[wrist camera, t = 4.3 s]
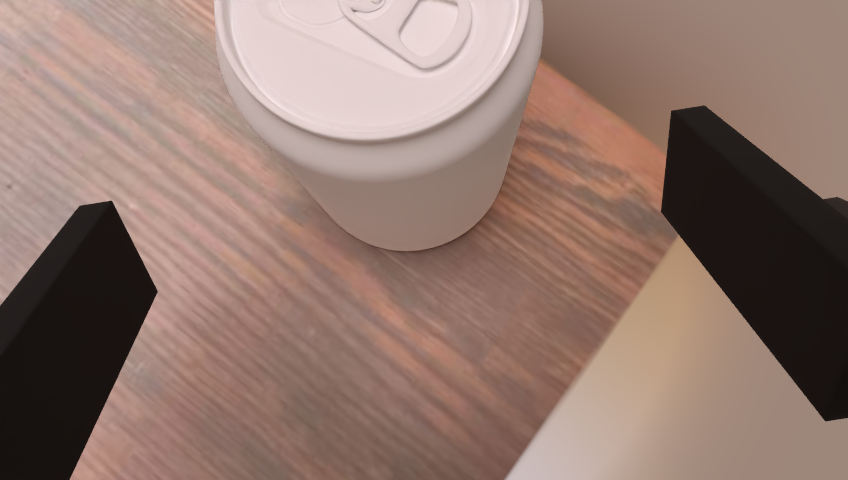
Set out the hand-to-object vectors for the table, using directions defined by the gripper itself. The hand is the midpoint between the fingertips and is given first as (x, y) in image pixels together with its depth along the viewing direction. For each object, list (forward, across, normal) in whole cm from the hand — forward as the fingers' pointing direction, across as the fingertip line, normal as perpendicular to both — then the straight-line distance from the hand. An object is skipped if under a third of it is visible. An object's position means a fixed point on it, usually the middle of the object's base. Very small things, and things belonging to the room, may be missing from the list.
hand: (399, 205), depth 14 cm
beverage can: (+10, 0, -4) cm, 11 cm away
